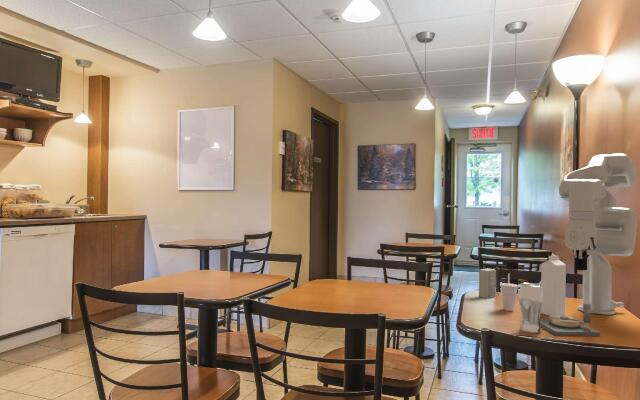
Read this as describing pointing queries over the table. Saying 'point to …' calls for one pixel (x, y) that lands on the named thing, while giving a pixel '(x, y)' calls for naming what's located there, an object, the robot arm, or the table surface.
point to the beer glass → (531, 306)
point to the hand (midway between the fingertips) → (581, 269)
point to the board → (567, 329)
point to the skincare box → (487, 283)
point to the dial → (572, 319)
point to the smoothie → (509, 294)
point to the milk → (553, 286)
